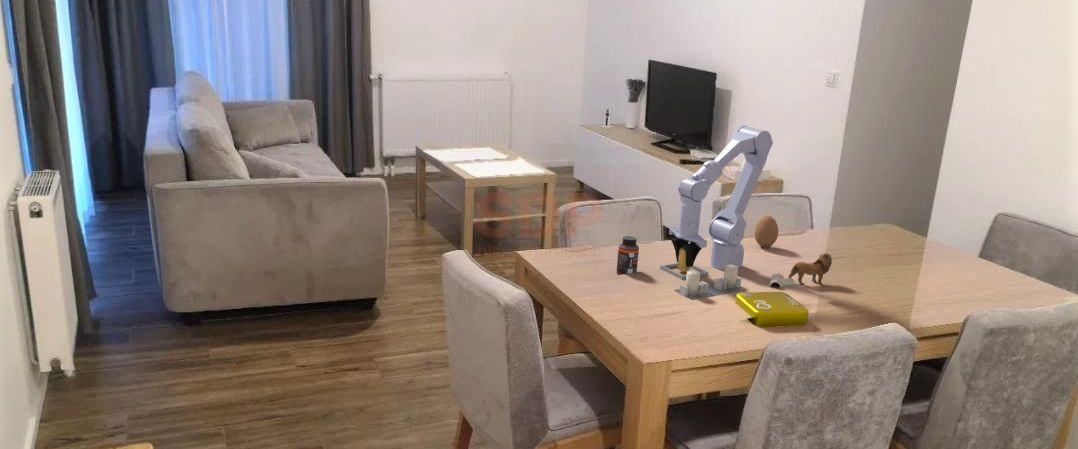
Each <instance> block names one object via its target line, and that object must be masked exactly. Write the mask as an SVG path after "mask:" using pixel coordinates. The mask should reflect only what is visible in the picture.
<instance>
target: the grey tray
mask: <svg viewBox="0 0 1078 449" xmlns="http://www.w3.org/2000/svg"><path fill="white" fill-rule="evenodd" d="M673 268H678V262H676V263H675V262H674V263H668V264H661V265H660V266H659V269H660V270H662V271H664V272H665V273H667V274H669V275H671V276H674V277H675V278H678V279H680V280H686V275H687V274H683V275H682V274H680V273H679V272H677V271H675V270H673ZM690 269H692V270H693V271H697V272H700V277H706V276H709V271H708V270H706V269H703V268H702V267H699V266H697V265H695V264H693V266H691V267H690Z"/></svg>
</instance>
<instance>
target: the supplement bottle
mask: <svg viewBox="0 0 1078 449" xmlns="http://www.w3.org/2000/svg"><path fill="white" fill-rule="evenodd" d="M621 241H622V243H620V244H619V245H618V250H617V260H616V261H617V263H616V274H617V275H618V276H621V275H628V274H634V273H637V272H638V262H639V250H640V247H639V245H638V244H637V237H635V236H631V235H630V236H629V235H625V236H623V237H622V240H621Z"/></svg>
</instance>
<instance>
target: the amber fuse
mask: <svg viewBox="0 0 1078 449" xmlns="http://www.w3.org/2000/svg"><path fill="white" fill-rule="evenodd" d="M677 263H678V267H677V270H679V271H682V272H687V271H691V268H690V267H687V266H686V250H685V246H683V247H682V248H680V250H679V259H678V262H677Z"/></svg>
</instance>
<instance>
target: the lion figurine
mask: <svg viewBox="0 0 1078 449" xmlns="http://www.w3.org/2000/svg"><path fill="white" fill-rule="evenodd" d="M832 263H833V258H832V255H831V254H830V253H826V252H823V253H820V254H819V256H818V258H817V259H816V260H815V261H813V262H804V261H798V262H796V263H795V264H794V265H793V266H792V268H791V270H790V274H788V276H787V278H792V277H794V276H795V275H798V277H797V278H798V279H797V281H798V283H799V285H800V286H802V285H806V284H805V283H804V282H803V280H802V279H803V278H804V276H805V274H806V275H809V276H812V278H811V282H812V281H813V282H812V283H816V282H817V283H818V285H819V284H820V285H819V286H823V282H822V280H823V277H824V275H825V274H827V273H829V271H830V268H831V266H832ZM817 276H818V279H816V277H817Z"/></svg>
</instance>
